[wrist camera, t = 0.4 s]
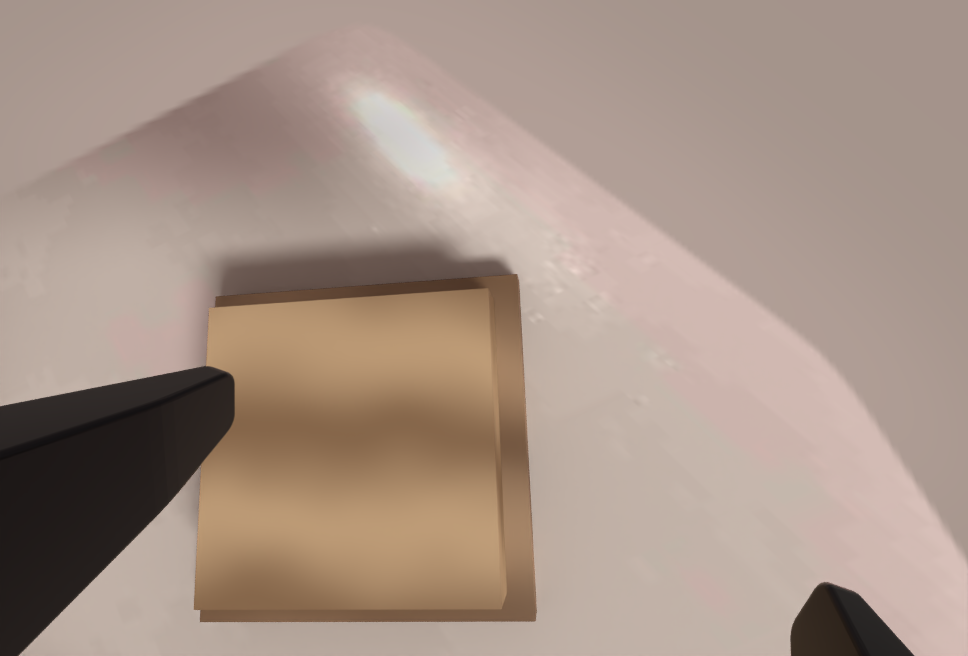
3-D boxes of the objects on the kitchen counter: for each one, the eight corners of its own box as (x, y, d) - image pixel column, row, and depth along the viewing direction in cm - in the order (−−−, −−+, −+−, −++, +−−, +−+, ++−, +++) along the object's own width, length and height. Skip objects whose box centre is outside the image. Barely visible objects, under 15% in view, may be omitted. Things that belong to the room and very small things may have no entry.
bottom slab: (537, 604, 22) (535, 621, 21) (229, 606, 24) (199, 621, 22) (520, 286, 25) (517, 274, 23) (241, 306, 26) (215, 296, 24)
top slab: (506, 592, 21) (501, 609, 19) (225, 594, 22) (193, 609, 20) (494, 300, 23) (488, 287, 21) (237, 317, 24) (209, 308, 22)
